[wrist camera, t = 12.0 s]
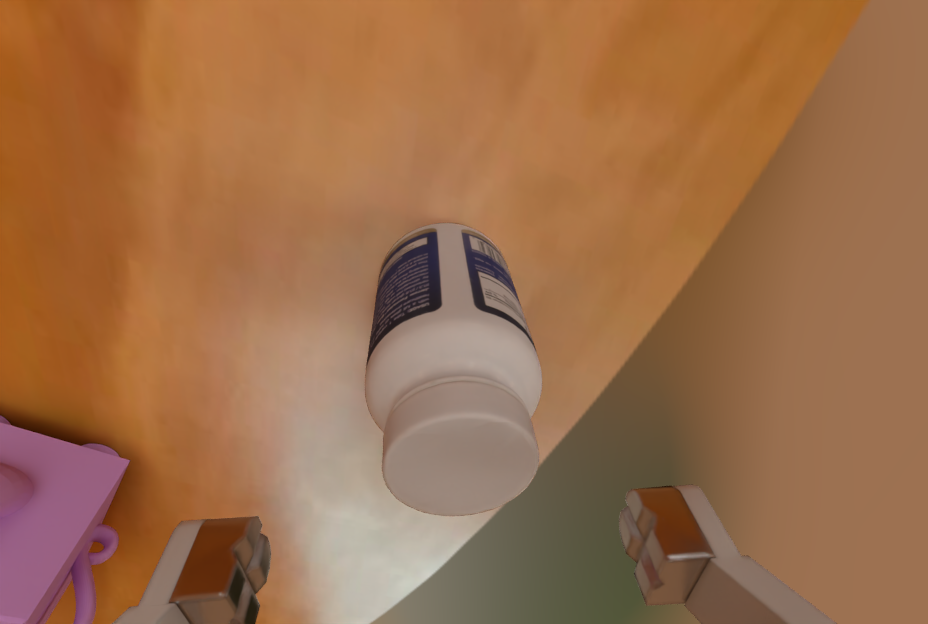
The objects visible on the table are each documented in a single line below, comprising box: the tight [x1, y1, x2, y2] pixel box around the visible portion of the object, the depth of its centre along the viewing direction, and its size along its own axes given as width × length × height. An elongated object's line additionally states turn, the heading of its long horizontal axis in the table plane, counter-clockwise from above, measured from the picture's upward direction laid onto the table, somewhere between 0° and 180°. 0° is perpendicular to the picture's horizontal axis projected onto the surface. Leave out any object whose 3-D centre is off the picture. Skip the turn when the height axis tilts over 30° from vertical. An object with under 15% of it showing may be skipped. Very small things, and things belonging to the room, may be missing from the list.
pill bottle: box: [365, 223, 542, 516], centre depth 15 cm, size 5×5×10 cm
